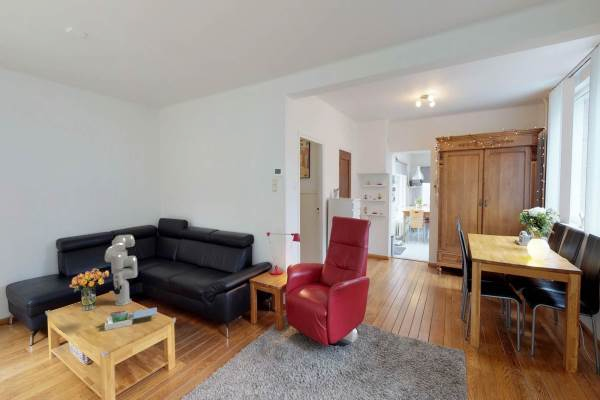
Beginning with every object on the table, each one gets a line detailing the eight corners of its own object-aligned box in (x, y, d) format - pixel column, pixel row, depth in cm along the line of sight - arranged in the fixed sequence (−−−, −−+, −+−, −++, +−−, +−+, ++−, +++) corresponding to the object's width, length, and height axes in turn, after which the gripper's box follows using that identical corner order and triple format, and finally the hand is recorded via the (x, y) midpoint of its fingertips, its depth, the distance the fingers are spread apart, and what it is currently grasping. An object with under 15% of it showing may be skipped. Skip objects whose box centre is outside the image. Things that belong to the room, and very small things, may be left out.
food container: (108, 327, 207) (108, 315, 206) (111, 323, 213) (110, 311, 212) (127, 325, 211) (126, 312, 210) (129, 321, 217) (128, 309, 216)
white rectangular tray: (107, 323, 215) (107, 317, 215) (133, 318, 223) (133, 312, 222) (104, 330, 204) (104, 325, 204) (132, 325, 212) (131, 319, 211)
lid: (132, 312, 222) (132, 309, 222) (156, 308, 230) (156, 305, 230) (131, 319, 211) (131, 316, 211) (156, 314, 219) (156, 311, 219)
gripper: (121, 272, 204) (122, 294, 205) (124, 266, 220) (125, 286, 221) (109, 274, 201) (110, 296, 202) (113, 267, 216) (114, 288, 217)
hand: (118, 291), depth 211 cm, fingers open, 9 cm apart
